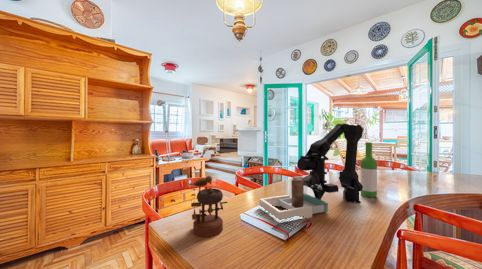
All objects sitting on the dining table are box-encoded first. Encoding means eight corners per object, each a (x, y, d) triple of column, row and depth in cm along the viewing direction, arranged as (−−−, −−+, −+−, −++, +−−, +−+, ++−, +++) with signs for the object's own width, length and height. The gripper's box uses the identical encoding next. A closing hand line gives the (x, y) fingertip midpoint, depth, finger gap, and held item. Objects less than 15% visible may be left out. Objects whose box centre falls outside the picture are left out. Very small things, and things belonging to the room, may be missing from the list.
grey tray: (304, 200, 99) (304, 193, 99) (327, 212, 85) (328, 202, 85) (277, 205, 93) (277, 196, 93) (298, 217, 79) (298, 208, 79)
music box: (195, 243, 62) (193, 179, 63) (185, 231, 71) (183, 176, 72) (236, 230, 70) (233, 174, 71) (222, 221, 79) (220, 171, 81)
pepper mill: (305, 206, 89) (305, 177, 89) (301, 210, 85) (301, 179, 85) (294, 204, 92) (294, 175, 92) (289, 207, 88) (289, 177, 88)
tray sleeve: (288, 203, 97) (288, 194, 97) (312, 217, 81) (312, 206, 81) (259, 208, 91) (259, 198, 91) (279, 223, 75) (279, 212, 75)
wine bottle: (380, 196, 107) (380, 142, 107) (370, 198, 104) (371, 142, 104) (366, 192, 115) (366, 142, 114) (357, 194, 112) (357, 142, 112)
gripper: (292, 167, 99) (292, 198, 99) (319, 174, 81) (319, 211, 81) (309, 166, 103) (309, 195, 103) (339, 172, 86) (339, 208, 86)
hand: (318, 202), depth 93 cm, fingers closed
